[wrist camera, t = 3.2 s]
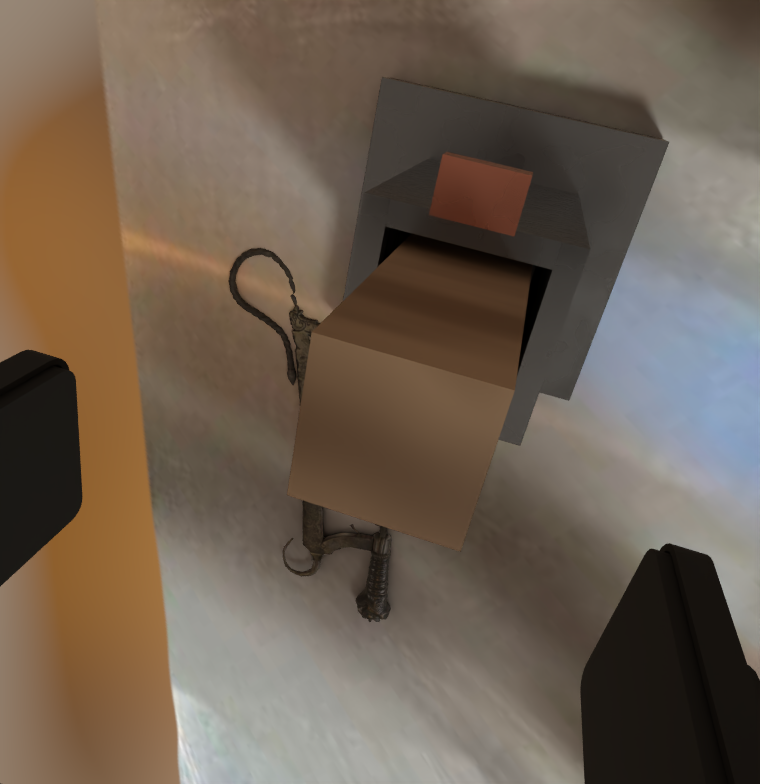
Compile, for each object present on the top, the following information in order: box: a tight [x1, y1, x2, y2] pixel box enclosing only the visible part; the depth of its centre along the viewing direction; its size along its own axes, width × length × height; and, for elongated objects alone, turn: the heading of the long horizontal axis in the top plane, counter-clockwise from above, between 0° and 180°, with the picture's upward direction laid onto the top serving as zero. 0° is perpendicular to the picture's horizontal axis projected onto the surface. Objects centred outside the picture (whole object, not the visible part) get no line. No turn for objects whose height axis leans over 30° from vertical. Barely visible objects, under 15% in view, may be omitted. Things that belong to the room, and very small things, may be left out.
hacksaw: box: [229, 248, 391, 622], centre depth 37 cm, size 24×10×2 cm, turn 177°
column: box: [287, 233, 532, 552], centre depth 20 cm, size 4×4×18 cm
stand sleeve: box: [343, 77, 669, 446], centre depth 24 cm, size 12×12×13 cm
